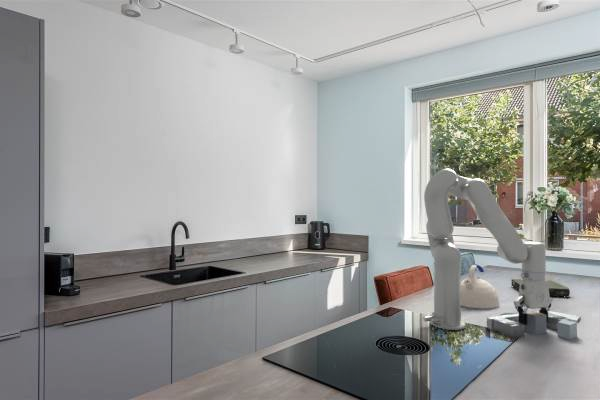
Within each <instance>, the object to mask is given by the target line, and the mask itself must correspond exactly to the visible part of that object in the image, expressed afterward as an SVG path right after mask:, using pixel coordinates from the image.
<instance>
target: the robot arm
mask: <svg viewBox="0 0 600 400" xmlns="http://www.w3.org/2000/svg"><path fill="white" fill-rule="evenodd" d="M424 189H425V190H424V194H423V198H424V199H423V200H424V207H425V212H426V217H427V218H426V219H427V221H426V225H425V227H426V234H427V239H428V244H429V248H430V253H431V255H432V256H431V257H432V258H433V261H434V264H433V265H434V266H433V268H434V269H433V292H434V293H433V298H434V300H433V303H434V304H433V306H434V307H433V309H434V310H433V312H431V314H430V315H426V316H423V317H422V319H423V321H424V322H430V323H431V324H430V323H429V324H430V325H431V326H432V325H433V326H432V327H434V326H435V327H434V328H437V327H438V328H437V329H440V328H442V329H441V330H445V329H446V330H447V331H458V330H463V329H465V328H466V323H465V322H464V321H462V319H461V317H462V312H461V311H462V306H461V285H460V282H461V269H462V254H461V251H460V249H459V248H458V247H457V246H456V245H455V242H454V238H453V237H454V236H453V233H454V223H453V219H452V217H451V216H452V214H451V211H450V207H449V206H450V205H449V195H450V196H453V197H456V198H459V199H463V200H466V201H468V202H469V204H470V206H471V208H472V209H473V211H474V213H475V215H476V217H477V218H478V220H479V222H480V223H481V225H482V226H483V227H484V228H485V229H486V230H487V231H488V232H489V233H490V234H491V235H492V237H493V238H494V239H495V241H496V242H497V244H498V246H497V247H496V252H497V254H498V256H499V257H500V258H501V259H503V260H505V261H507V262H508V263H510V264H515V265H516V264H521V274H520V277H521V282H520V288H519V291H518V297H517V298H515V300H513V305H514V308H515V309H516V311H517V312H518V314H519V323H521V324H524V325H527V314H526V312H527V311H529V309H531V310H533V309H534V310H536V309H539V310H538V311H539V313H543V314H545V315H546V322H548V311H551V309H550V308H551V306H552V304H553V301H554V298H553V297H552V296H549V287H548V283H547V280H548V279H546V267H547V266H546V260H547V259H546V245H545V244H544V243H543V242H539V241H537V242H536V241H525V242H524V241H523V239H522V237H521V236H520V234H519V232H518V231H517V229H516V228H515V227H514V226H513V224H512V223H511V221H510V220H509V219H508V217H507V215H505V213H504V211H503V209H502V208H501V207H500V205H499V203H498V201H497V200H496V197H495V196H494V194H493V192H492V190H491V189H490V187H489V185H488V184H487V183H486V182H485V181H484V180H483V179H481V178H469V177H464V176H461V175H459V174H457V173H456V171H454V170H453V169H451V168H443V169H442V168H441V170H438V171H437V172H436V173H435V174H434V175H433V176H432V177H431V178H430V179H429V180H428V183H427V185H426V186H425V188H424Z"/></svg>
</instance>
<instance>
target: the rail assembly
mask: <svg viewBox="0 0 600 400" xmlns="http://www.w3.org/2000/svg"><path fill="white" fill-rule="evenodd" d="M537 312H538V313H539V310H538V311H537ZM562 320H568V321H571V319H569V318H566V317H563V316H559V315H555V314H552V313H550V312H548V322H546V326H547V328H549V329H552V330H556V331H557V322H559V321H562ZM486 329H488V330H491V331H495V332H496V333H497V332H498V333H500V334H502V335H505V336H507V337H510V338H512V339H513V338H514V339H515V338H521V337H525V330H524V325H523V324H521V323H519V313H513V314H504V315H495V316H487V317H486Z"/></svg>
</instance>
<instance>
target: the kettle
mask: <svg viewBox="0 0 600 400" xmlns="http://www.w3.org/2000/svg"><path fill="white" fill-rule="evenodd" d="M476 268H477V269H478V271H479V273H484V272H485V270H484V268H483V267H482V266H481V265H479V264H472V265H471V266H470V268H469V271H468V278H465V279H463V280H462V281H461V280H460V285H461V307H464V308H465V307H466V308H469V309H471V308H472V309H480V310H482V309H483V310H486V309H496V308H498V307H499V306H500V301H499V294H498V292H497V290H496V288H494V286H493V285H492V284H491V283H489V282H488V281H487V280H484V279H482V278H480V277H475V273H476V272H475V270H476Z"/></svg>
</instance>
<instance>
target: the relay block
mask: <svg viewBox="0 0 600 400" xmlns="http://www.w3.org/2000/svg"><path fill="white" fill-rule="evenodd" d="M556 331H557V337H561V338H563V339H566V340H567V339H568V340H573V339H575V338H577V337H578V322H572V321H568V320H562V321H559V322H557V330H556Z"/></svg>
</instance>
